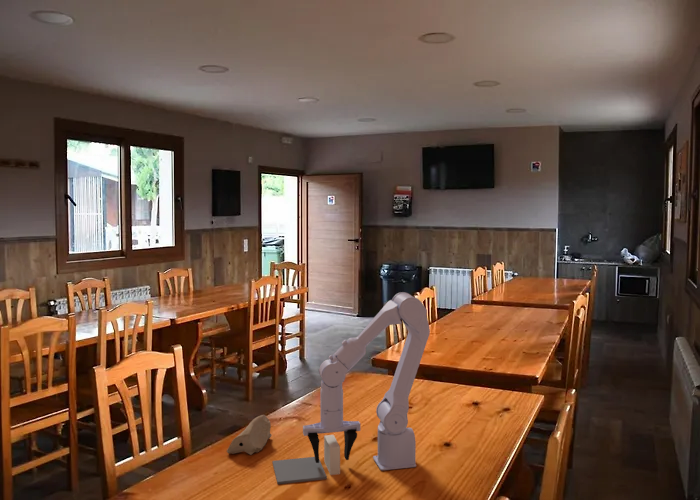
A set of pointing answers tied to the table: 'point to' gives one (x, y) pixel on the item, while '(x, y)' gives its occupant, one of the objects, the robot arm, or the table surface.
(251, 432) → the grey animal figurine
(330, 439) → the block
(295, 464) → the mat
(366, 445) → the table surface
